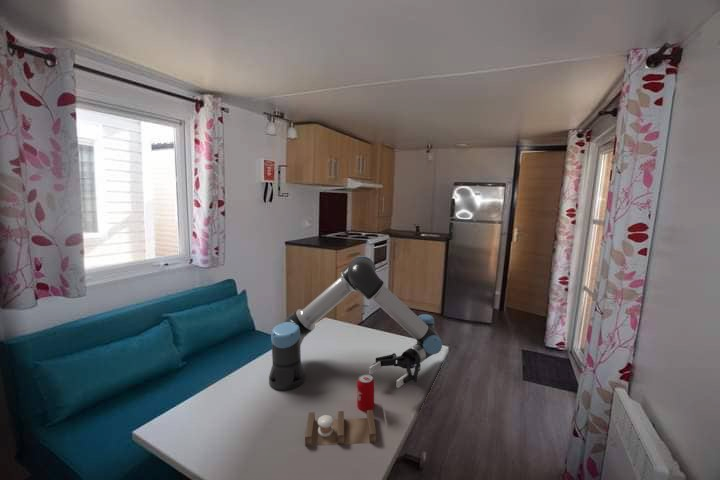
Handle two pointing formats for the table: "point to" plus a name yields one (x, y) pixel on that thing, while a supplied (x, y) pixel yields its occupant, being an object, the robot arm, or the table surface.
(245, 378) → the table surface
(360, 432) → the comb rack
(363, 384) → the beverage can
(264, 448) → the table surface
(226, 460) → the table surface
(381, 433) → the table surface
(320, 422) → the white knob
